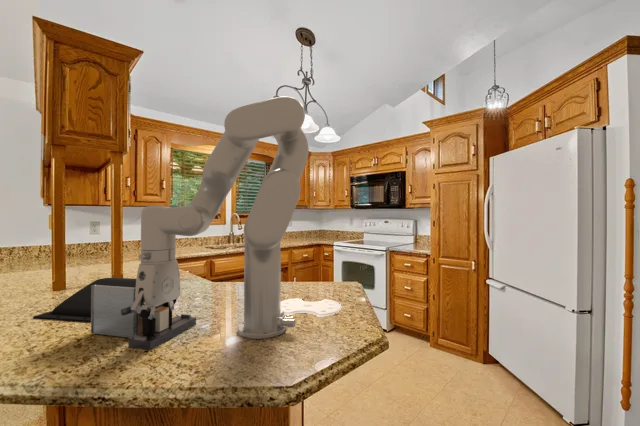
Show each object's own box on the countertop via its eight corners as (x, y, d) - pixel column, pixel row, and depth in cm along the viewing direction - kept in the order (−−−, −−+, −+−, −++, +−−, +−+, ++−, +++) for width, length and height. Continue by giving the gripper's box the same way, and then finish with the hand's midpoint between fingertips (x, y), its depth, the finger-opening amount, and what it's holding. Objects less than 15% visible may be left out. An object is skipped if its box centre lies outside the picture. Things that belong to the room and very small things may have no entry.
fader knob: (168, 327, 74) (169, 307, 74) (159, 331, 71) (159, 311, 71) (161, 326, 75) (161, 306, 75) (151, 331, 72) (152, 310, 72)
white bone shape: (279, 294, 109) (347, 296, 106) (279, 299, 109) (347, 301, 106) (261, 312, 89) (344, 316, 86) (261, 318, 89) (344, 322, 86)
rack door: (136, 336, 73) (137, 287, 73) (128, 340, 71) (129, 289, 71) (94, 331, 76) (94, 284, 76) (85, 334, 74) (85, 286, 74)
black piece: (118, 294, 116) (33, 320, 87) (118, 272, 116) (33, 291, 87) (173, 296, 112) (103, 325, 83) (173, 274, 112) (104, 295, 83)
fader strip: (195, 324, 82) (195, 315, 82) (150, 350, 66) (150, 338, 66) (177, 322, 83) (177, 313, 83) (128, 347, 68) (128, 335, 68)
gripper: (142, 262, 63) (141, 347, 63) (194, 252, 80) (193, 320, 80) (114, 260, 65) (113, 343, 65) (170, 251, 82) (170, 317, 82)
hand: (157, 329), depth 72 cm, fingers open, 4 cm apart
